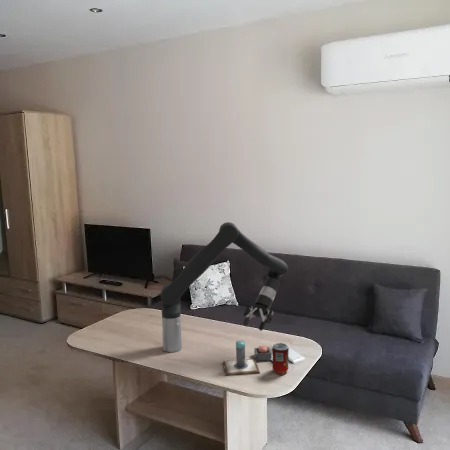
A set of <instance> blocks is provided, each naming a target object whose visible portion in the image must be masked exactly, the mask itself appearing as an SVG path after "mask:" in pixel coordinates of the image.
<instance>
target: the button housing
mask: <svg viewBox="0 0 450 450" xmlns="http://www.w3.org/2000/svg"><path fill="white" fill-rule="evenodd" d="M266 347H267V353H258V347H254V349H253V350H254V351H253V353H254V359H255V361H256V362H264V361H265V362H267V361H268V362H269V361H271V360H270V359H271V358H272V359H273V352H272V351H271V349H270V347H269V346H266Z"/></svg>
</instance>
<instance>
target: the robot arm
mask: <svg viewBox="0 0 450 450" xmlns="http://www.w3.org/2000/svg"><path fill="white" fill-rule="evenodd" d="M232 244H234V245H235V246H237V247H238V248H240V249H241V250H242V251H243V252H245V254H247V255H248V256H249V257H250V258H251V259H252V260H253V261H255V262H256V263H258V264H259V265H260V266H261V267H266V268H269V269H268V271H267V275H266V280H265V282H264V284H263V286H262V287H261V289H260V292H259V294H258V295H257V298H256V299H255V301H254V303H255V304H254V305H253V306H252V305H251V304H248V305H247V306H246V308H245V310H244V312H243V317H244V318H245V319H244V321H243V323H242V324H243V326H244V327H245V328H246V327H248V325H249V323H250V320H251V319H252V318H253V319H254V318H255V317H256V318H260V319H261V320H262V321H261V322H260V324H259V327H258V330H259V331H263V330H264V329H265V326H266V324H271V322H272V320H273V318H274V317H273V316H274V313H275V311H273V310H272V309H271V307H272V305H273V302H274V300H275V297H276V294H277V292H278V290H279V287H280V281H279V280H280V278H281V277H283V276H285V275H286V274H288V272H289V266H288V264H287V263H286V262H285V261H284V260H282V259H280V258H278V257H277V256H274V255H271V253H269V252H267V251H266V250H265V249H264V248H262V247H261V246H259V245H258V244H256V243H255V242H254V241H252V240H251V239H249V238H248V237H247V236H246V235H245V234H243V232H241V231H240V229H238V227H237V226H236V224H235V223H232V222H229V221H228V222H224V223H221V225H220V226H219V229H218V233H217V234H216V235H215V236H214V238H213V239H212V240H211V241H210V242H209V243H208V244H207V245H205V246H204V247H202V248H201V249H199V251H197V252H196V253H195V254H194V255H193V256H192V257H191V258H190V259H189V260H188V262H187V263H186V264H185V266H184V267H183V269H182V270H181V271H180V273H179V275H178V276H177V277H176V278H175V279H174V280H173V281H172V282H168V283H166V284H165V285H164V286H163V287H162V289H161V291H160V299H161V320H162V322H161V323H162V328H161V329H162V332H161V333H162V351H163V352H167V353H176V352H178V351H181V350H182V347H183V346H182V320H181V319H182V318H181V316H182V315H181V298H182V296H183V295H184V293H185V292H186V291H187V290H188V288H189V287H190V286H191V285H192V284H193V283H194V282H196V281H197V280H198V279H199V278H200V277H201V276H202V275H203V274H205V272H206V271H207V270H208V269H209V267H211V265H212V264H214V262H215V261H216V259H217V258H218V257H219V255H220V254H222V252H224V250H226V249H227V248H228V247H229V246H230V245H232ZM266 315H267V316H266Z"/></svg>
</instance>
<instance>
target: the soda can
mask: <svg viewBox="0 0 450 450" xmlns="http://www.w3.org/2000/svg"><path fill="white" fill-rule="evenodd" d="M289 349H290V348H289V346H288V345H287V344H286V343H282V342H279V343H278V342H277V343H275V344H273V345H272V370H273V372H274V374H277V375H285V374H287V372H288V370H289Z"/></svg>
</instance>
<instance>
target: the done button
mask: <svg viewBox="0 0 450 450" xmlns="http://www.w3.org/2000/svg"><path fill="white" fill-rule="evenodd" d="M267 347H268V346H266V345H260V346H259V345H258V346H257V348H258V353H267Z"/></svg>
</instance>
